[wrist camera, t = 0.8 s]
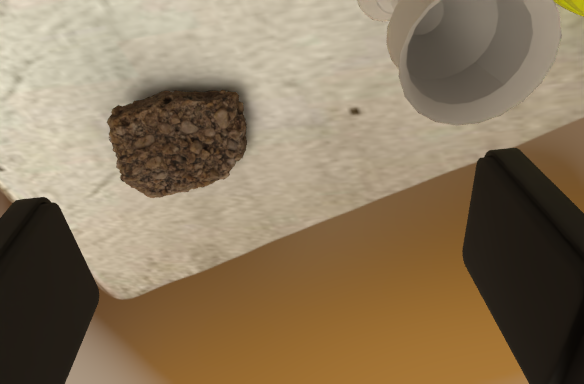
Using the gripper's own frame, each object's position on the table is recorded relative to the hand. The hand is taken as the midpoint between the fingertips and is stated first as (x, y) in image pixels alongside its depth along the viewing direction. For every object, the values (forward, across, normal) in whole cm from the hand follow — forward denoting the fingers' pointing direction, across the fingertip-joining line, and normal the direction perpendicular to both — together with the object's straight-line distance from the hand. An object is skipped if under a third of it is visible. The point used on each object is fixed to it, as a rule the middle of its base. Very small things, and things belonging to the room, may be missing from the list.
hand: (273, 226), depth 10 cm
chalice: (+30, -10, +1) cm, 31 cm away
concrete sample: (+30, +9, +11) cm, 33 cm away
